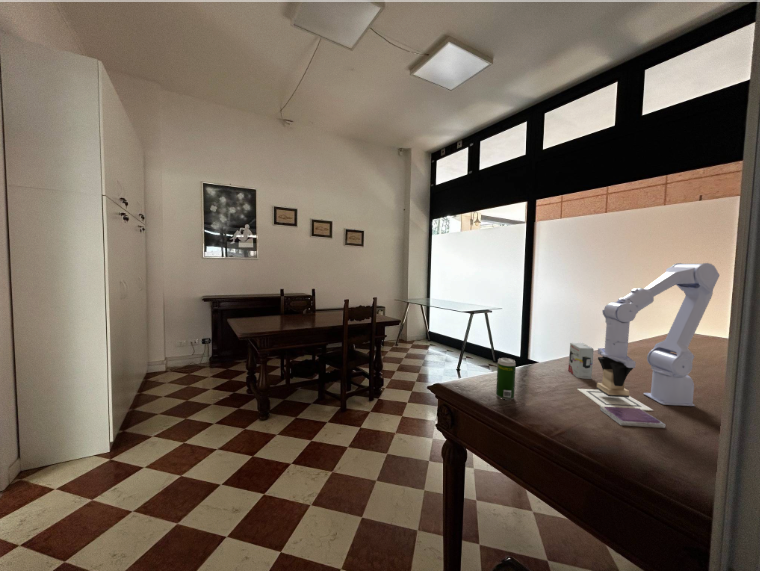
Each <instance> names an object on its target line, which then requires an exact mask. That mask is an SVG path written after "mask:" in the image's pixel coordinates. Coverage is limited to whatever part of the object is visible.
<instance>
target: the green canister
mask: <svg viewBox="0 0 760 571" xmlns="http://www.w3.org/2000/svg"><path fill="white" fill-rule="evenodd" d="M496 364H497V367H496V369H497V370H496V390H495V391H496V392H495V394H496V397H497V396H498V397H499V398H498V397H497V398H498V399H500V398H502V399H505V400H504V401H512V400H513V399H515V389H516V388H515V386H516V385H515V384H516V366H517V364H516V361H515V359H512V358H507V357H501V358H500V357H499V358H498V360H497V363H496ZM502 399H501V400H502ZM511 399H512V400H511Z"/></svg>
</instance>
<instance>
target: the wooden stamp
mask: <svg viewBox="0 0 760 571" xmlns="http://www.w3.org/2000/svg"><path fill="white" fill-rule="evenodd" d="M625 381H626V380H625ZM625 381H624V384H623V386H615V385H614V380H613V370H612V369H602V380H601V382H596V390H599V391H601V392H603V393H604V394H606V395H607V396H610V397H629V396H630V390H628V389H626V388H625Z"/></svg>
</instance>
